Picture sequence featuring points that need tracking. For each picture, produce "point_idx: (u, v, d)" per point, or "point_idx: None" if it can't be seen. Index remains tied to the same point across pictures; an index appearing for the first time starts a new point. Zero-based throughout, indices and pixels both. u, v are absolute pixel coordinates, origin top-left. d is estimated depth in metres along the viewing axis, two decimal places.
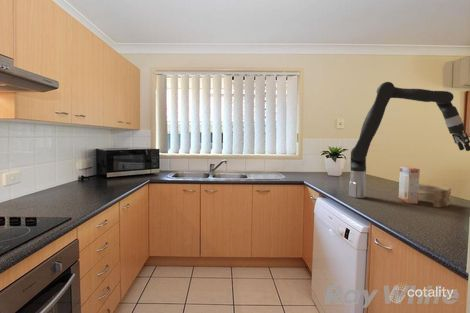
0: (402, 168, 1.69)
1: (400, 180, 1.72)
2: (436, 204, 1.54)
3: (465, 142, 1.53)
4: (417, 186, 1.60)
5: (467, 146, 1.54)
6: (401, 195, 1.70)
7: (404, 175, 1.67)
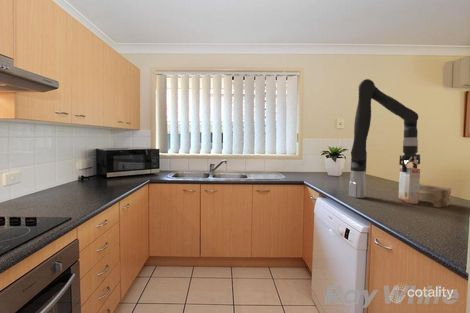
0: None
1: (400, 180, 1.72)
2: (436, 204, 1.54)
3: (399, 163, 1.64)
4: (418, 186, 1.60)
5: (402, 167, 1.64)
6: (401, 195, 1.70)
7: (404, 175, 1.66)
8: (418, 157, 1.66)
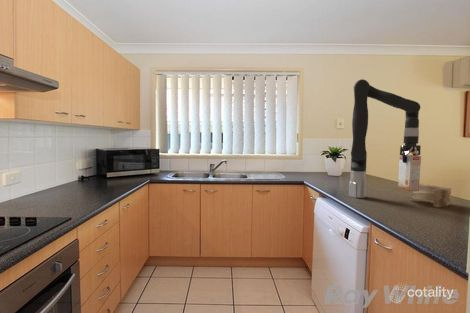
0: (402, 156, 1.68)
1: (400, 168, 1.71)
2: (436, 204, 1.54)
3: (400, 153, 1.64)
4: (418, 173, 1.59)
5: (403, 158, 1.64)
6: (401, 183, 1.69)
7: (404, 163, 1.66)
8: (418, 148, 1.66)
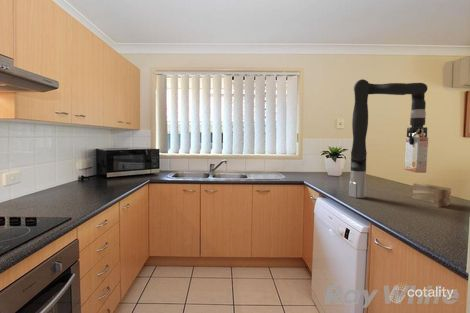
0: None
1: (407, 151, 1.71)
2: (436, 204, 1.54)
3: (407, 135, 1.63)
4: (426, 155, 1.59)
5: (410, 140, 1.64)
6: (408, 166, 1.69)
7: (411, 145, 1.65)
8: (425, 130, 1.66)
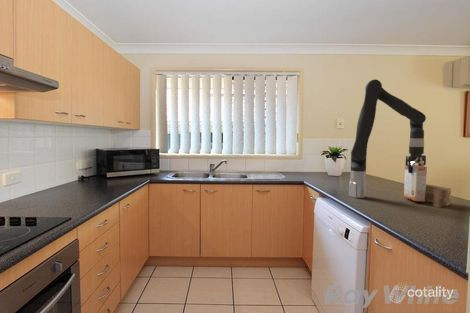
0: None
1: (406, 178, 1.72)
2: (436, 204, 1.54)
3: (405, 164, 1.65)
4: (424, 184, 1.60)
5: (408, 168, 1.65)
6: (407, 193, 1.70)
7: (410, 173, 1.67)
8: (424, 158, 1.67)
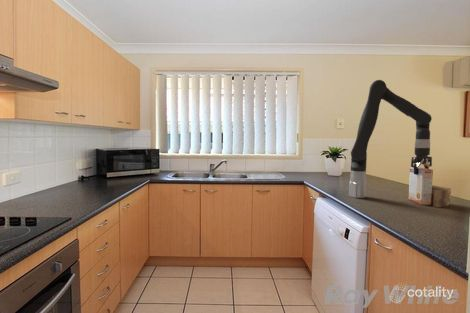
0: (413, 169, 1.66)
1: (410, 181, 1.69)
2: (436, 204, 1.54)
3: (411, 165, 1.61)
4: (430, 187, 1.57)
5: (414, 170, 1.62)
6: (412, 196, 1.67)
7: (415, 176, 1.63)
8: (430, 159, 1.64)
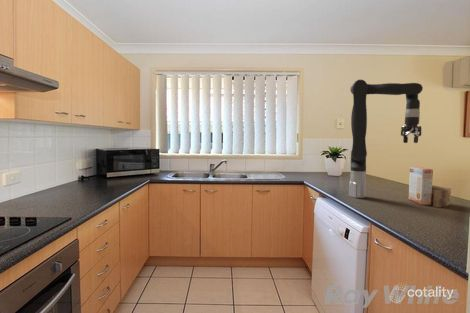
0: (413, 169, 1.66)
1: (410, 181, 1.69)
2: (436, 204, 1.54)
3: (401, 134, 1.69)
4: (430, 187, 1.57)
5: (404, 138, 1.69)
6: (412, 196, 1.67)
7: (415, 176, 1.63)
8: (419, 129, 1.70)
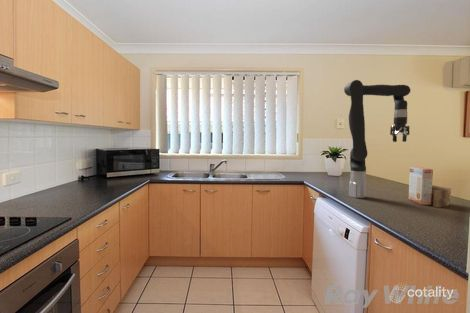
0: (413, 169, 1.66)
1: (410, 181, 1.69)
2: (436, 204, 1.54)
3: (390, 133, 1.77)
4: (430, 187, 1.57)
5: (393, 137, 1.78)
6: (412, 196, 1.67)
7: (415, 176, 1.63)
8: (407, 128, 1.80)
